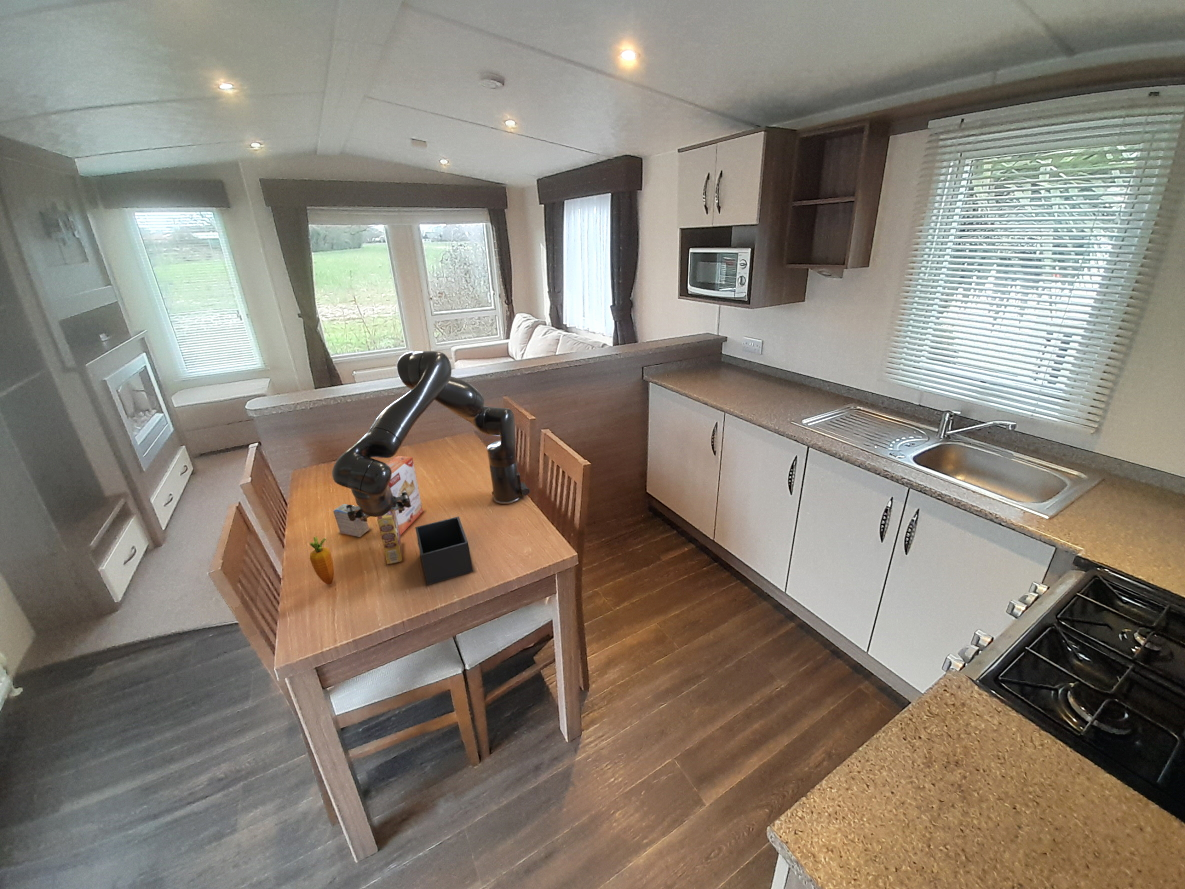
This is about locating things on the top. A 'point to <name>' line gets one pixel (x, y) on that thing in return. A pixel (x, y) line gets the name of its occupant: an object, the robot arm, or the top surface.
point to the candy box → (390, 537)
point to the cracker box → (405, 490)
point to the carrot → (322, 561)
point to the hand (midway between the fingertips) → (382, 513)
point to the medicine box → (349, 522)
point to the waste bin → (444, 550)
